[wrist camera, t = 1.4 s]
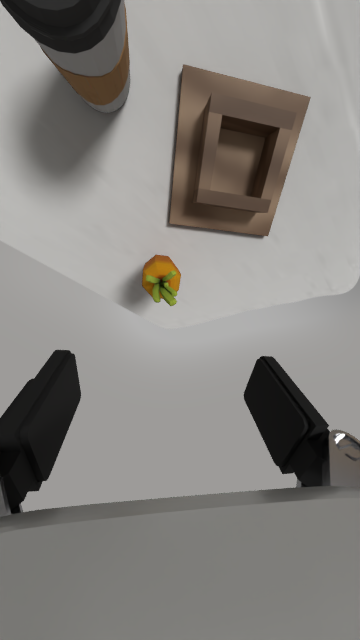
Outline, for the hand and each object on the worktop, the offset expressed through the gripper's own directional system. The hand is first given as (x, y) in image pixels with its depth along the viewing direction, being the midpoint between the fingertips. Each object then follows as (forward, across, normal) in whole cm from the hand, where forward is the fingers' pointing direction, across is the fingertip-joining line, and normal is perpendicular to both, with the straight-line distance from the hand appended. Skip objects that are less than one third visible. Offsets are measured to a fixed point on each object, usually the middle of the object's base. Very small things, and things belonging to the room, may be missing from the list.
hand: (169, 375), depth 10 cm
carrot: (+26, 0, 0) cm, 26 cm away
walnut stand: (+26, -9, -14) cm, 31 cm away
